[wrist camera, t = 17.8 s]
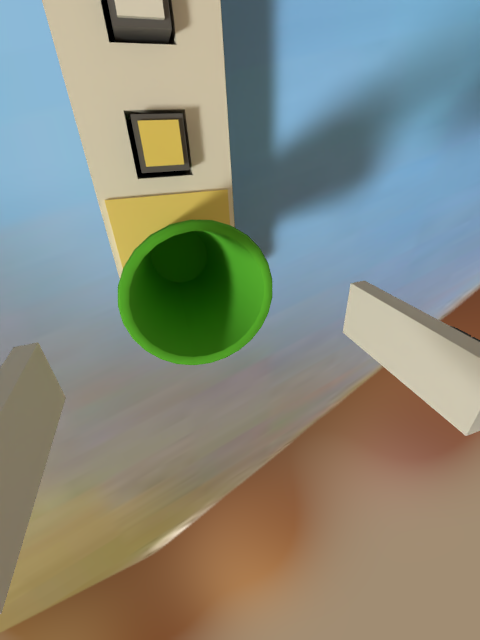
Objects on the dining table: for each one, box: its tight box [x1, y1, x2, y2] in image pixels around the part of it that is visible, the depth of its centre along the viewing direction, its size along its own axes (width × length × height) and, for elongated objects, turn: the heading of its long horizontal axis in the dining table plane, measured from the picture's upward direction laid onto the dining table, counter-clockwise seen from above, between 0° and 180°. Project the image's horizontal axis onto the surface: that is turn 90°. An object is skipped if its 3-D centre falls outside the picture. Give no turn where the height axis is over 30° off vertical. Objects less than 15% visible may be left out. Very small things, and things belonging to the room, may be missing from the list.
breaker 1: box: [107, 0, 172, 44], centre depth 19 cm, size 4×4×6 cm
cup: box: [118, 220, 272, 365], centre depth 21 cm, size 9×9×11 cm
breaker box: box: [42, 0, 235, 278], centre depth 24 cm, size 26×11×5 cm, turn 3°
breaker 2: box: [130, 113, 190, 173], centre depth 23 cm, size 4×4×6 cm
